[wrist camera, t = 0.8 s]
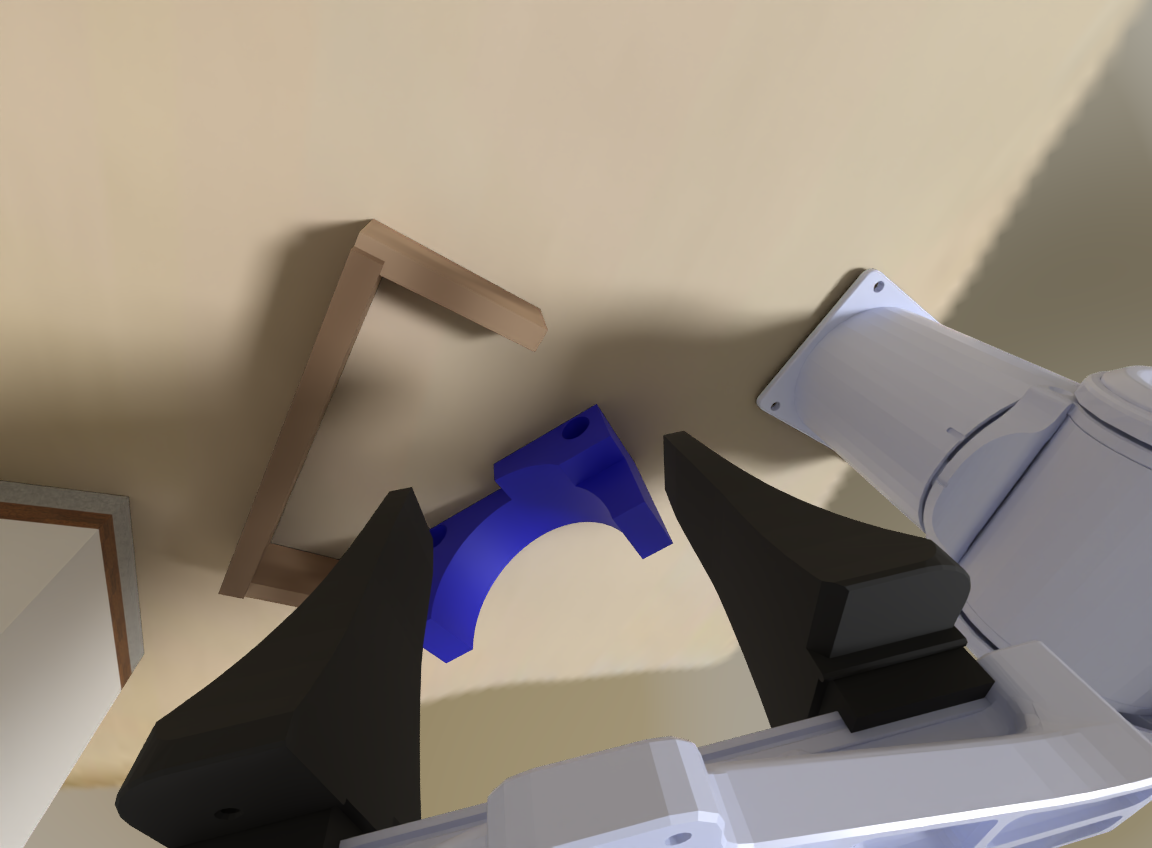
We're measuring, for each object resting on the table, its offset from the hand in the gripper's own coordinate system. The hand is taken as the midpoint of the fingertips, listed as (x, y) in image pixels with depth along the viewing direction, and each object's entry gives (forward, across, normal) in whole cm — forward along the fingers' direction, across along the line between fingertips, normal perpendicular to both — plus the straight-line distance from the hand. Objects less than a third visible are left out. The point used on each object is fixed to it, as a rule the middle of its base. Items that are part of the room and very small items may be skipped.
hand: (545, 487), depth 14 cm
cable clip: (+10, +2, +8) cm, 12 cm away
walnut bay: (+9, +7, +3) cm, 12 cm away
